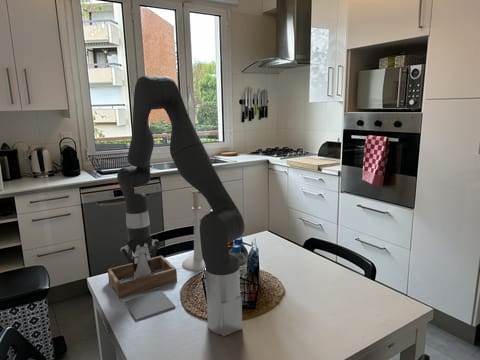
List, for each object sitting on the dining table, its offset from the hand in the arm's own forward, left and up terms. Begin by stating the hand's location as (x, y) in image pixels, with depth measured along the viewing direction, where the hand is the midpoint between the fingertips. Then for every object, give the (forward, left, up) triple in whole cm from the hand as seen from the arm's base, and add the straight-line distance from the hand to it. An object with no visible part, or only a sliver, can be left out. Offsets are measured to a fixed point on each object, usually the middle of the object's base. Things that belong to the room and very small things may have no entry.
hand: (142, 270), depth 122 cm
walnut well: (0, 0, -4) cm, 4 cm away
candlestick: (+2, -23, -5) cm, 23 cm away
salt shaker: (0, 0, -4) cm, 4 cm away
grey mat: (-16, +3, -4) cm, 17 cm away
